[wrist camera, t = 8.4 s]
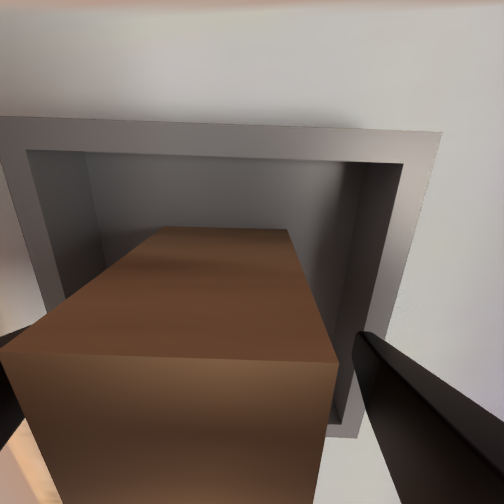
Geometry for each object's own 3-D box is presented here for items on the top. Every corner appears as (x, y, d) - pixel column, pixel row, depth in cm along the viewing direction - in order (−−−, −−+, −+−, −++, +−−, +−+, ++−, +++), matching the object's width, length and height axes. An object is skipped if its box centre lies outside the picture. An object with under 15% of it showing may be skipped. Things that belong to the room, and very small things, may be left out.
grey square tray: (334, 372, 14) (356, 438, 11) (122, 363, 14) (81, 425, 11) (380, 139, 10) (442, 132, 7) (76, 128, 10) (-14, 115, 7)
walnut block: (279, 330, 12) (305, 542, 5) (175, 327, 12) (76, 532, 5) (287, 229, 10) (339, 362, 4) (164, 226, 10) (-5, 351, 4)
